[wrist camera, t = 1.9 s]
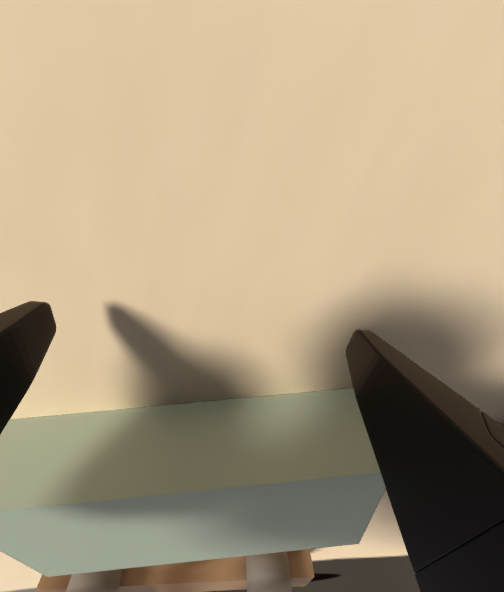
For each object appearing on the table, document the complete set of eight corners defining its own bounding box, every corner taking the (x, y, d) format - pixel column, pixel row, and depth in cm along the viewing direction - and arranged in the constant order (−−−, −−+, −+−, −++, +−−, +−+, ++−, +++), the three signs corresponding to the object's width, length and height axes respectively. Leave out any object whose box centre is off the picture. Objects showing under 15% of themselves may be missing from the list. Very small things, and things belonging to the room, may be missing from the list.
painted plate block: (353, 380, 13) (393, 471, 10) (334, 462, 18) (358, 543, 14) (12, 412, 13) (-62, 516, 10) (81, 487, 17) (47, 576, 14)
